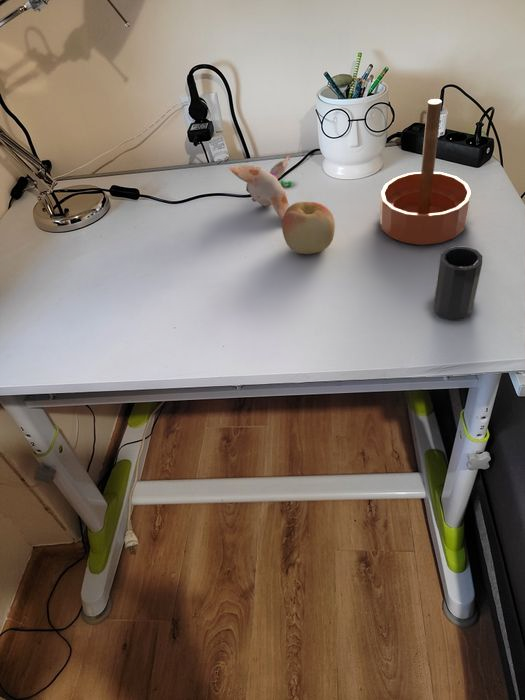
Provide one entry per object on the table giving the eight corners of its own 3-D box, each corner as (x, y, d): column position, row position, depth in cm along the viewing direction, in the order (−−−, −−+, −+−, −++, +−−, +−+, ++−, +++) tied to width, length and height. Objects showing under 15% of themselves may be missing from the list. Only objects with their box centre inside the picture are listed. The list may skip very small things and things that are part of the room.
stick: (430, 219, 89) (444, 100, 74) (424, 224, 88) (436, 105, 74) (420, 215, 90) (432, 98, 76) (414, 221, 89) (424, 102, 75)
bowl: (482, 217, 88) (488, 185, 84) (434, 257, 82) (438, 225, 78) (411, 194, 96) (413, 164, 92) (363, 229, 90) (363, 199, 86)
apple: (281, 239, 92) (276, 199, 86) (330, 230, 91) (328, 190, 86) (288, 267, 85) (283, 226, 80) (340, 258, 85) (339, 216, 80)
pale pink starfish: (240, 154, 104) (212, 186, 94) (262, 127, 99) (235, 158, 89) (292, 205, 108) (270, 241, 98) (316, 181, 103) (296, 217, 93)
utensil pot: (478, 306, 73) (490, 254, 67) (458, 325, 71) (468, 274, 64) (446, 292, 76) (454, 241, 70) (426, 310, 74) (432, 260, 67)
